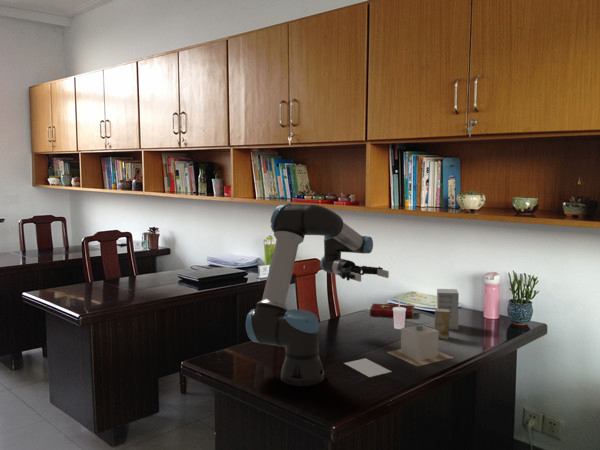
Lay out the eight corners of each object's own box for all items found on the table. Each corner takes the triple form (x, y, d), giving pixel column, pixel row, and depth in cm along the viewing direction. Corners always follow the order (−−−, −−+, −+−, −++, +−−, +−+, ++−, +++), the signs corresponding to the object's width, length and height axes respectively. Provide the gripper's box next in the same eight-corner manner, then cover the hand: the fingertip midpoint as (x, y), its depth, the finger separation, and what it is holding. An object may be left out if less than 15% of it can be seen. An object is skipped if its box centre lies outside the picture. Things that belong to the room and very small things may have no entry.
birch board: (417, 367, 197) (417, 366, 197) (386, 353, 213) (386, 352, 213) (453, 359, 206) (453, 357, 206) (421, 346, 221) (421, 344, 221)
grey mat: (369, 378, 188) (369, 377, 188) (343, 364, 202) (343, 363, 202) (405, 369, 195) (405, 368, 195) (378, 356, 209) (378, 355, 209)
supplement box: (458, 330, 243) (459, 293, 241) (437, 329, 245) (437, 292, 243) (456, 324, 252) (457, 288, 251) (436, 323, 254) (436, 288, 252)
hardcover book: (412, 319, 263) (412, 310, 262) (369, 316, 268) (369, 308, 268) (414, 313, 274) (414, 305, 274) (372, 310, 280) (373, 302, 279)
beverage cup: (401, 330, 243) (401, 300, 242) (389, 328, 247) (390, 298, 246) (408, 327, 248) (408, 297, 246) (396, 325, 252) (397, 295, 250)
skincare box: (433, 338, 231) (434, 310, 230) (433, 335, 235) (434, 308, 234) (449, 339, 229) (449, 311, 228) (449, 336, 233) (449, 309, 232)
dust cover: (418, 360, 202) (418, 331, 201) (400, 353, 211) (401, 325, 210) (438, 356, 207) (438, 327, 206) (420, 348, 216) (420, 321, 215)
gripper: (368, 273, 240) (398, 282, 221) (320, 279, 228) (348, 289, 209) (368, 257, 239) (398, 264, 221) (320, 262, 227) (348, 270, 209)
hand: (374, 276), depth 215 cm, fingers open, 13 cm apart
